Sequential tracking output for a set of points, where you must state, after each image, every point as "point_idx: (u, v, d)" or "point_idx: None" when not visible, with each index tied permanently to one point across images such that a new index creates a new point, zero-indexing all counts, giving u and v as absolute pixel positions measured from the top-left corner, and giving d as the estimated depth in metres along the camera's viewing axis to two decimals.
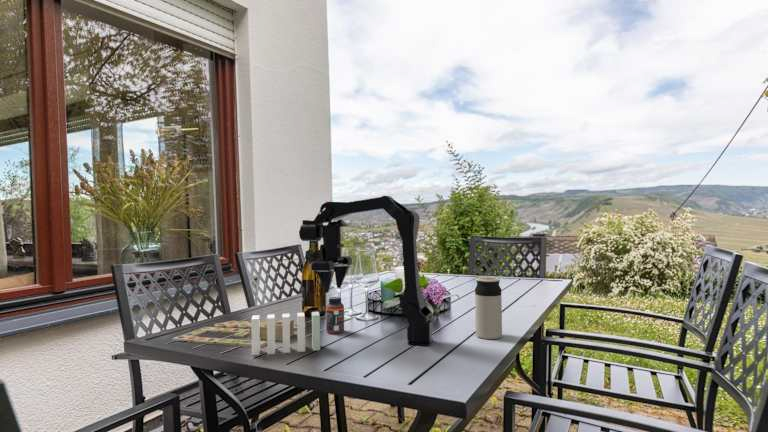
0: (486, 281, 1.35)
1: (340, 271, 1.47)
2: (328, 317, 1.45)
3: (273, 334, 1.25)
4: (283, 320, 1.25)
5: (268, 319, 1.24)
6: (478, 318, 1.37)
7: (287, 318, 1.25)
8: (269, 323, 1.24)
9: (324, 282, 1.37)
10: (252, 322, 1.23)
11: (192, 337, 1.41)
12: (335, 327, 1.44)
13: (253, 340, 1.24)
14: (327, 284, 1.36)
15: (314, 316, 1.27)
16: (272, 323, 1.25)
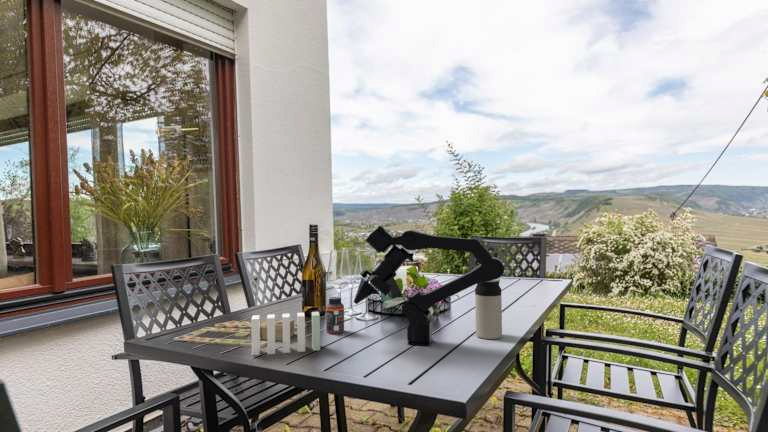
0: None
1: None
2: (328, 317, 1.45)
3: (273, 334, 1.25)
4: (283, 320, 1.25)
5: (268, 319, 1.24)
6: (478, 318, 1.37)
7: (287, 318, 1.25)
8: (269, 323, 1.24)
9: None
10: (252, 322, 1.23)
11: (193, 337, 1.41)
12: (335, 327, 1.44)
13: (253, 340, 1.24)
14: None
15: (314, 316, 1.27)
16: (272, 323, 1.25)
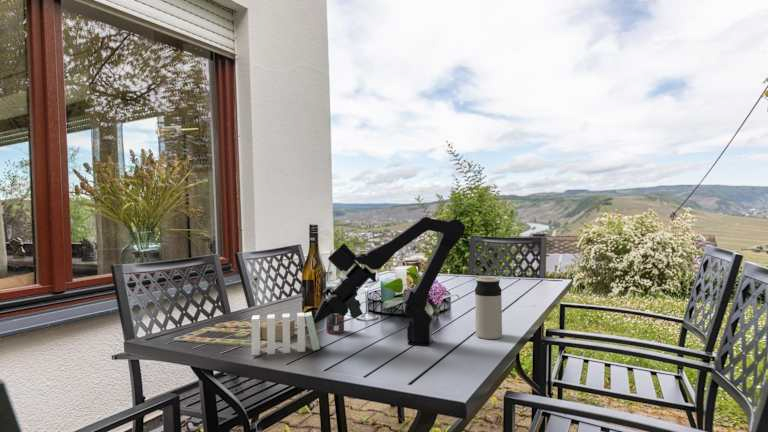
0: (486, 281, 1.35)
1: None
2: (328, 317, 1.45)
3: (273, 334, 1.25)
4: (283, 320, 1.25)
5: (268, 319, 1.24)
6: (478, 318, 1.37)
7: (287, 318, 1.25)
8: (269, 323, 1.24)
9: None
10: (252, 322, 1.23)
11: (193, 337, 1.41)
12: (335, 327, 1.44)
13: (253, 340, 1.24)
14: None
15: (307, 317, 1.27)
16: (272, 323, 1.25)
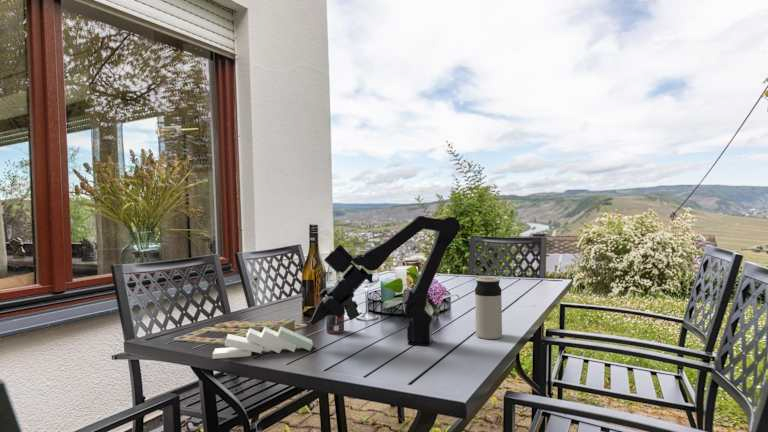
0: (486, 281, 1.35)
1: None
2: (328, 317, 1.45)
3: (243, 343, 1.22)
4: (249, 339, 1.22)
5: (226, 344, 1.21)
6: (478, 318, 1.37)
7: (250, 334, 1.22)
8: (230, 344, 1.21)
9: None
10: None
11: (193, 337, 1.41)
12: (335, 327, 1.44)
13: None
14: None
15: (279, 335, 1.25)
16: (231, 341, 1.21)
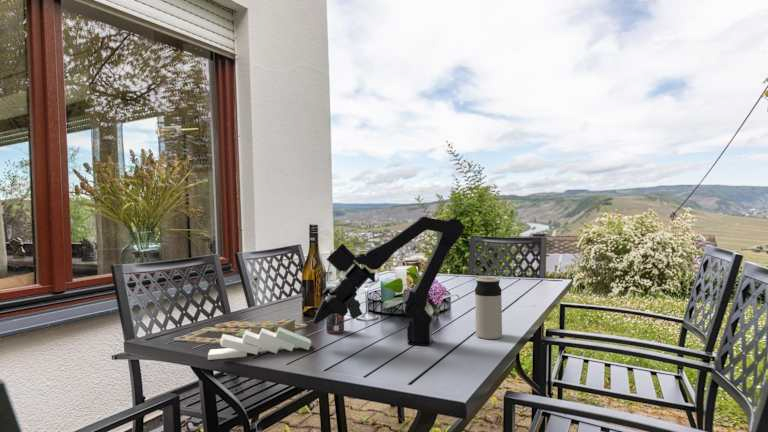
0: (486, 281, 1.35)
1: None
2: (328, 317, 1.45)
3: (240, 344, 1.21)
4: (245, 341, 1.22)
5: (222, 344, 1.19)
6: (478, 318, 1.37)
7: (246, 336, 1.22)
8: (227, 345, 1.20)
9: None
10: None
11: (193, 337, 1.41)
12: (335, 327, 1.44)
13: None
14: None
15: (277, 335, 1.25)
16: (228, 342, 1.20)
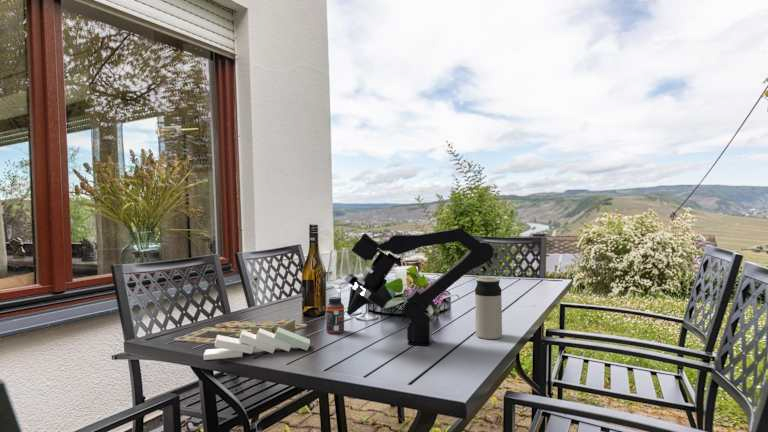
0: (486, 281, 1.35)
1: None
2: (328, 317, 1.45)
3: (233, 344, 1.21)
4: (242, 341, 1.23)
5: (216, 345, 1.20)
6: (478, 318, 1.37)
7: (242, 336, 1.23)
8: (220, 345, 1.20)
9: None
10: None
11: (193, 338, 1.41)
12: (335, 327, 1.44)
13: None
14: None
15: (275, 336, 1.26)
16: (222, 342, 1.20)
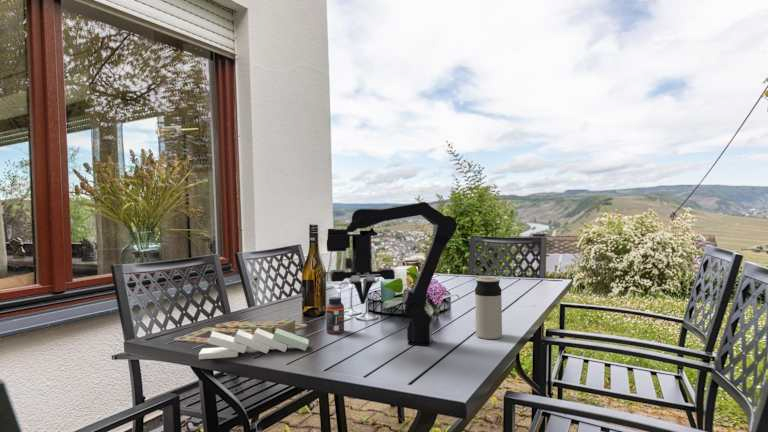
0: (486, 281, 1.35)
1: (364, 285, 1.32)
2: (328, 317, 1.45)
3: (227, 341, 1.22)
4: (236, 340, 1.23)
5: (209, 341, 1.20)
6: (478, 318, 1.37)
7: (236, 336, 1.23)
8: (214, 342, 1.21)
9: (357, 292, 1.32)
10: None
11: (194, 338, 1.41)
12: (335, 327, 1.44)
13: (221, 357, 1.22)
14: (358, 295, 1.32)
15: (273, 337, 1.26)
16: (215, 339, 1.21)
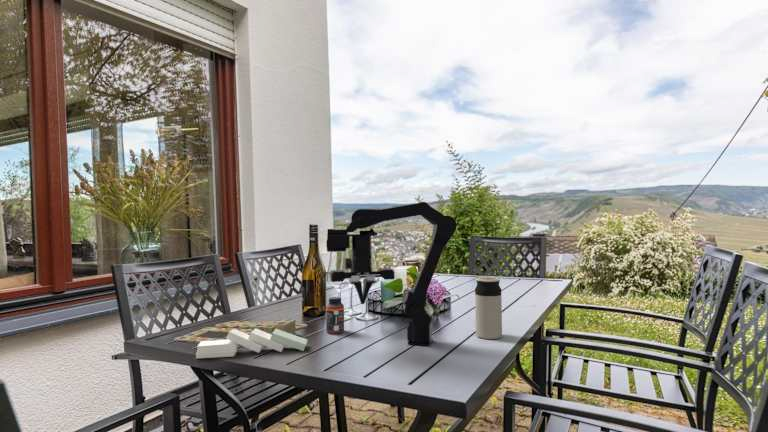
0: (486, 281, 1.35)
1: (364, 286, 1.32)
2: (328, 317, 1.45)
3: (215, 346, 1.22)
4: (229, 338, 1.24)
5: (198, 352, 1.22)
6: (478, 318, 1.37)
7: (229, 334, 1.24)
8: (202, 350, 1.22)
9: None
10: None
11: (194, 337, 1.41)
12: (335, 327, 1.44)
13: None
14: (358, 295, 1.32)
15: (271, 338, 1.26)
16: (203, 347, 1.22)
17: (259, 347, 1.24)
